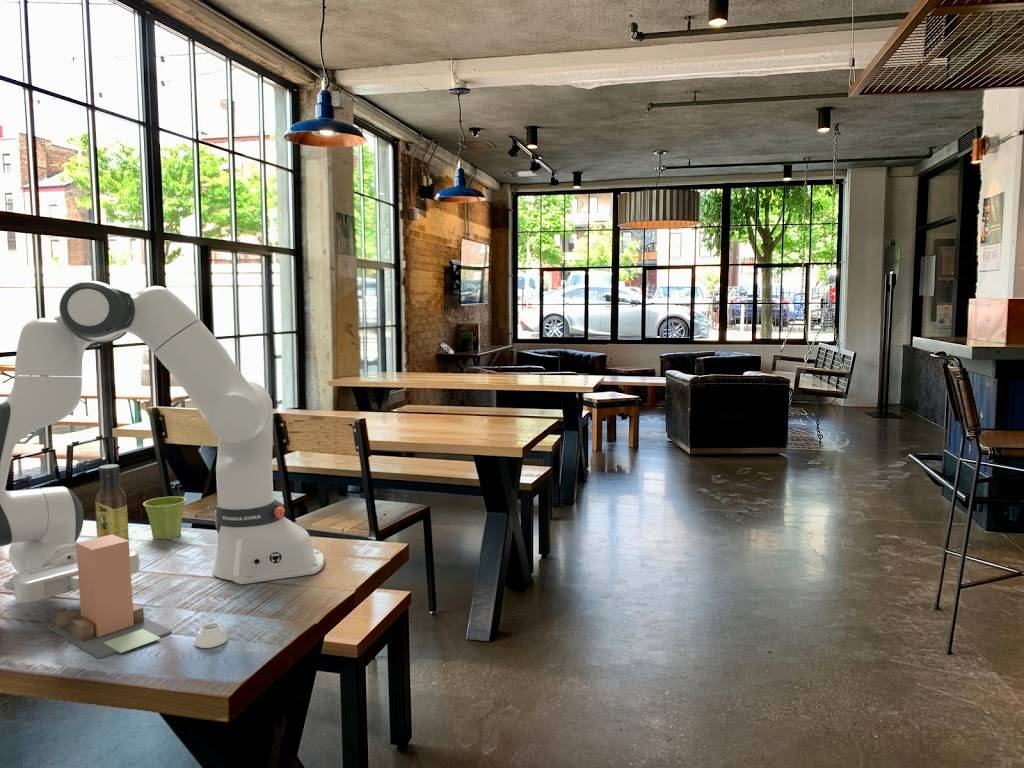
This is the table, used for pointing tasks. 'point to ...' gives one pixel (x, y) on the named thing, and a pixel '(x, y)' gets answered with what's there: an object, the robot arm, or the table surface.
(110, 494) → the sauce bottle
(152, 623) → the chute mat
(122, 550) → the block
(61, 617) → the chute rails
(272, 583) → the table surface
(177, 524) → the plant pot
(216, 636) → the white jar
